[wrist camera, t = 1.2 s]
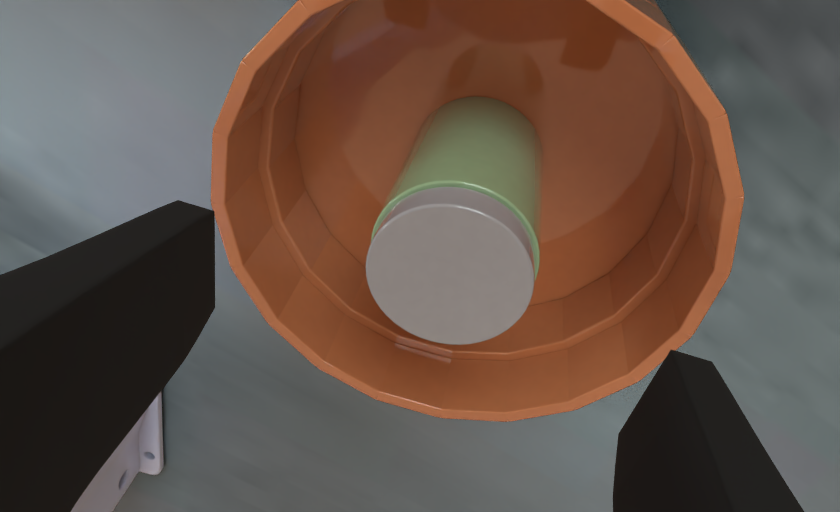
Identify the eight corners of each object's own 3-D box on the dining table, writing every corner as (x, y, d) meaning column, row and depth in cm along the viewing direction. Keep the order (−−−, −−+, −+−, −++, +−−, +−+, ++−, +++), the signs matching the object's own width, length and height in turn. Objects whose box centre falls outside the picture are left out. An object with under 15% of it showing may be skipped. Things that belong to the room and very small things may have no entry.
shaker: (521, 230, 21) (509, 368, 15) (401, 197, 21) (348, 322, 16) (562, 116, 19) (564, 230, 13) (427, 80, 19) (376, 178, 13)
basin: (603, 357, 24) (613, 467, 19) (266, 262, 24) (205, 352, 20) (788, -5, 16) (866, 48, 12) (302, -133, 17) (218, -121, 13)
